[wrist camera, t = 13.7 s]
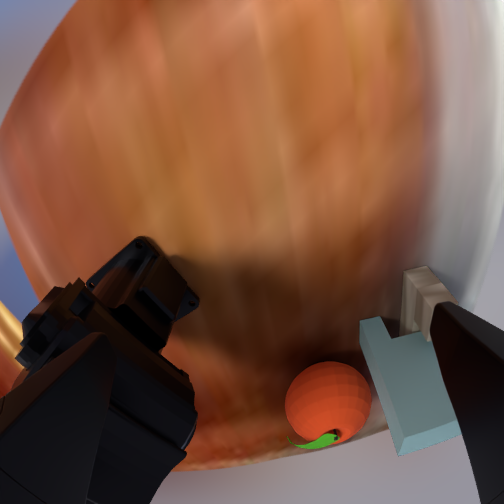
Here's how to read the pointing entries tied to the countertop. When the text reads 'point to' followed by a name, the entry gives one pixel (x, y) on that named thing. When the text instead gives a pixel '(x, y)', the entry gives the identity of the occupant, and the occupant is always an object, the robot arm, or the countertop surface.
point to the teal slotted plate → (408, 387)
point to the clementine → (327, 403)
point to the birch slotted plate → (420, 300)
